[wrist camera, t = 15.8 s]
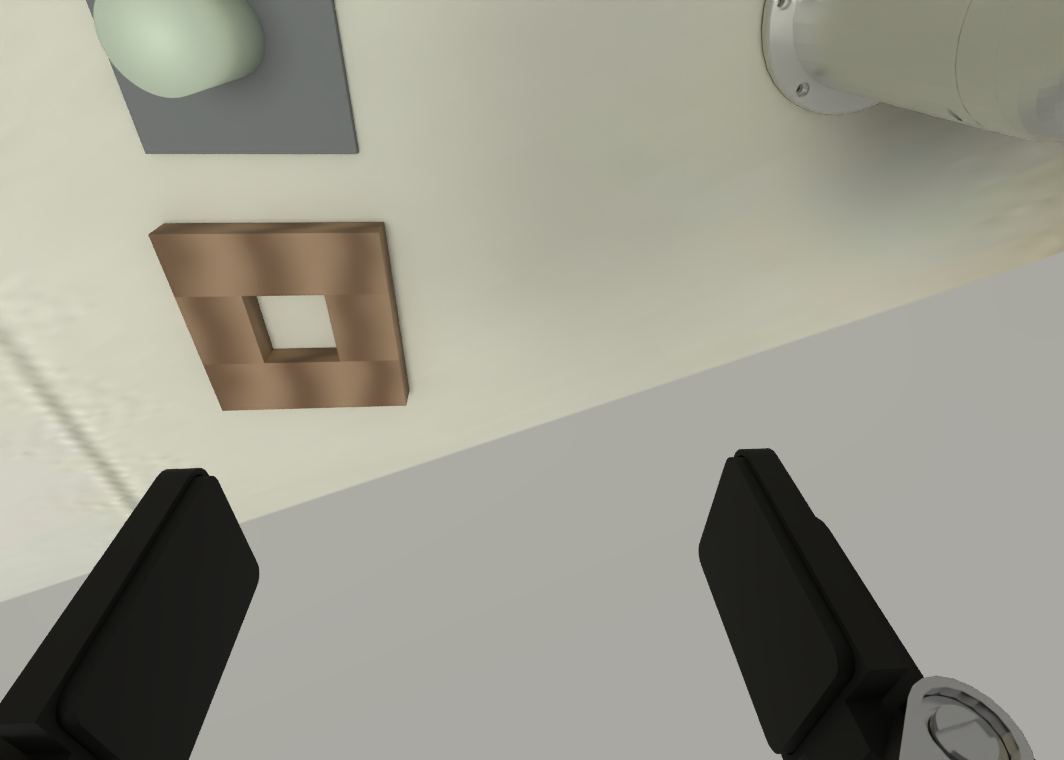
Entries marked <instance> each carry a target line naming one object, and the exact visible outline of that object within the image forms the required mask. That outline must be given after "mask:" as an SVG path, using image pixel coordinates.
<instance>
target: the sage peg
mask: <svg viewBox="0 0 1064 760" xmlns="http://www.w3.org/2000/svg"><path fill="white" fill-rule="evenodd" d="M93 16H94V25H95V29H96V33H97V36H98V39H99V41H100V43H101V46H102V48H103V50H104V51H105V53H106V55H107V56H108V58H109V59H110V61H111V62H112V63H113V65H114V66H115V67H116V68H117V69H118V70H119V71H120V72H121V73H122V74H123V75H124V76H125V77H126V78H127V79H128V80H129V81H131V82H132V83H133V84H135V85H136V86H138V87H139V88H141V89H143V90H145V91H147V92H149V93H151V94H154V95H157V96H161V97H166V98H180V97H184V96H188V95H191V94H194V93H197V92H200V91H203V90H206V89H209V88H212V87H215V86H218V85H221V84H224V83H227V82H230V81H233V80H237V79H240V78H243V77H245V76H248V75H250V74H251V73H253V72H254V71H255V70H256V69H257V68H258V66H259V65H260V63H261V61H262V58H263V55H264V49H265V40H264V33H263V29H262V26H261V23H260V21H259V19H258V17H257V15H256V13H255V11H254V10H253V8H252V7H251V5H250V4H249V3H248V2H247V1H246V0H95V3H94V12H93Z"/></svg>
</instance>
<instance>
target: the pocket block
mask: <svg viewBox="0 0 1064 760" xmlns="http://www.w3.org/2000/svg"><path fill="white" fill-rule="evenodd" d="M148 235H149V237H150V240H151V242H152V244H153V247H154V249H155V252H156V254H157V256H158V259H159V261H160V263H161V266H162V268H163V271H164V273H165V275H166V278H167V280H168V282H169V285H170V287H171V290H172V292H173V294H174V297H175V299H176V301H177V304H178V306H179V308H180V311H181V313H182V316H183V318H184V320H185V323H186V325H187V327H188V330H189V332H190V335H191V337H192V339H193V342H194V344H195V346H196V349H197V351H198V354H199V356H200V358H201V361H202V363H203V365H204V368H205V370H206V372H207V375H208V377H209V380H210V382H211V384H212V387H213V389H214V391H215V394H216V396H217V399H218V401H219V403H220V406H221V408H222V410H223V411H228V410H264V409H299V408H335V407H370V406H406V404H407V399H408V394H409V386H408V379H407V373H406V366H405V359H404V353H403V346H402V339H401V333H400V326H399V319H398V313H397V306H396V300H395V293H394V286H393V280H392V273H391V266H390V260H389V253H388V246H387V240H386V233H385V227H384V222H335V223H186V224H163V225H161V226H160V227H158V228H157V229H155V230H154V231H153V232H151V233H150V234H148ZM287 295H324V296H325V300H326V304H327V309H328V313H329V317H330V321H331V325H332V330H333V334H334V338H335V342H336V347H337V348H302V349H273V348H272V345H271V342H270V339H269V335H268V332H267V329H266V326H265V323H264V320H263V317H262V314H261V311H260V307H259V304H258V301H257V298H256V296H287Z"/></svg>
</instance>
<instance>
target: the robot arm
mask: <svg viewBox="0 0 1064 760" xmlns="http://www.w3.org/2000/svg"><path fill="white" fill-rule="evenodd" d="M777 1H778V0H766V3H765V7H764V15H763V25H762V40H763V52H764V56H765V61H766V65H767V69H768V71H769V73H770V75H771V77H772V79H773V81H774V83H775V85H776V86H777V87H778V89H779V90H780V91H781V92H782V93H783V95H784V96H785V97H786V98H788V99H789V100H790V101H792V102H793V103H795V104H796V105H797V106H800V107H802V108H805V109H807V110H809V111H813V112H817V113H821V114H825V115H843V114H848V113H853V112H858V111H861V110H864V109H866V108H869V107H871V106H874V105H876V104H878V103H880V102H883V103H887V104H890V105H894V106H898V107H902V108H905V109H909V110H913V111H917V112H920V113H924V114H928V115H932V116H935V117H939V118H943V119H946V120H950V121H954V122H958V123H961V124H965V125H969V126H973V127H976V128H980V129H984V130H988V131H991V132H995V133H1001V134H1004V135H1008V136H1012V137H1016V138H1020V139H1026V140H1032V141H1039V142H1064V0H782V1H781V4H780V5H779V6H777ZM799 85H800V89H799V90H798V91H797V88H798V86H799ZM796 91H797V92H796ZM699 558H700V563H701V566H702V568H703V571H704V574H705V576H706V579H707V582H708V585H709V587H710V590H711V592H712V595H713V598H714V601H715V603H716V606H717V609H718V611H719V614H720V617H721V619H722V622H723V625H724V627H725V630H726V632H727V635H728V638H729V641H730V643H731V646H732V649H733V651H734V654H735V656H736V659H737V662H738V665H739V667H740V670H741V673H742V675H743V678H744V681H745V684H746V686H747V689H748V691H749V694H750V697H751V699H752V702H753V705H754V708H755V710H756V713H757V716H758V718H759V721H760V724H761V726H762V729H763V732H764V734H765V737H766V739H767V742H768V744H769V746H770V747H771V749H772V750H773V751H774V752H775V753H776V754H781V755H782V758H783V760H1035V759H1034V756H1033V752H1032V750H1031V748H1030V746H1029V744H1028V742H1027V740H1026V738H1025V737H1024V734H1023V733H1022V731H1021V730H1020V729H1019V727H1018V726H1017V725H1016V724H1015V722H1014V721H1013V720H1012V719H1011V718H1010V716H1009V715H1008V714H1007V713H1006V712H1005V711H1004V710H1003V709H1002V708H1001V707H1000V706H998V705H997V704H996V703H995V702H994V701H993V700H992V699H991V698H989V697H988V696H986V695H985V694H983V693H981V692H980V691H978V690H977V689H975V688H974V687H972V686H970V685H967V684H965V683H963V682H960V681H958V680H955V679H953V678H947V677H940V676H932V677H926V678H924V677H923V675H922V674H921V672H920V670H919V669H918V667H917V666H916V665H915V663H914V661H913V660H912V658H911V656H910V655H909V653H908V652H907V650H906V649H905V647H904V645H903V644H902V643H901V641H900V639H899V638H898V636H897V635H896V633H895V631H894V630H893V628H892V627H891V625H890V624H889V622H888V620H887V619H886V617H885V616H884V614H883V613H882V611H881V609H880V608H879V607H878V605H877V603H876V602H875V600H874V599H873V597H872V595H871V594H870V592H869V591H868V589H867V588H866V586H865V584H864V583H863V581H862V580H861V578H860V577H859V575H858V573H857V572H856V570H855V569H854V567H853V566H852V564H851V563H850V561H849V559H848V558H847V556H846V555H845V553H844V552H843V550H842V548H841V547H840V545H839V544H838V542H837V541H836V539H835V538H834V536H833V534H832V533H831V531H830V530H829V528H828V527H827V526H826V525H825V524H824V522H823V521H821V520H820V519H818V518H817V517H815V515H814V514H813V512H812V510H811V509H810V507H809V506H808V504H807V502H806V501H805V499H804V498H803V496H802V494H801V493H800V491H799V490H798V488H797V486H796V485H795V483H794V482H793V480H792V479H791V477H790V475H789V474H788V472H787V471H786V469H785V467H784V466H783V464H782V463H781V461H780V459H779V458H778V456H777V455H776V453H775V452H774V451H773V450H771V449H769V448H766V449H739V450H738V451H737V452H736V453H735V455H734V457H729V458H728V459H727V460H726V463H725V466H724V469H723V472H722V475H721V478H720V481H719V485H718V488H717V491H716V494H715V497H714V500H713V503H712V506H711V509H710V512H709V516H708V519H707V522H706V525H705V529H704V531H703V534H702V537H701V540H700V544H699ZM258 580H259V566H258V564H257V562H256V559H255V557H254V555H253V553H252V551H251V549H250V547H249V545H248V542H247V540H246V538H245V536H244V534H243V532H242V530H241V528H240V526H239V524H238V521H237V519H236V517H235V515H234V513H233V511H232V509H231V507H230V505H229V502H228V500H227V498H226V496H225V494H224V492H223V490H222V488H221V486H220V484H219V481H218V480H217V478H216V477H214V476H209V475H208V473H207V472H206V470H204V469H202V468H190V469H166V470H164V471H162V472H161V473H160V474H159V475H158V476H157V478H156V479H155V481H154V482H153V483H152V485H151V486H150V488H149V489H148V491H147V492H146V494H145V495H144V496H143V498H142V499H141V501H140V502H139V504H138V505H137V507H136V508H135V509H134V511H133V512H132V514H131V515H130V517H129V518H128V520H127V521H126V522H125V524H124V525H123V527H122V528H121V530H120V531H119V533H118V534H117V535H116V537H115V538H114V540H113V541H112V543H111V544H110V546H109V547H108V548H107V550H106V551H105V553H104V554H103V556H102V557H101V559H100V560H99V561H98V563H97V564H96V566H95V567H94V568H93V570H92V571H91V573H90V574H89V576H88V577H87V579H86V580H85V581H84V583H83V584H82V586H81V587H80V589H79V590H78V592H77V593H76V594H75V596H74V597H73V599H72V600H71V602H70V603H69V605H68V606H67V608H66V609H65V610H64V612H63V613H62V615H61V616H60V618H59V619H58V620H57V622H56V623H55V625H54V626H53V628H52V629H51V631H50V632H49V633H48V635H47V636H46V638H45V639H44V641H43V642H42V644H41V645H40V647H39V648H38V649H37V651H36V652H35V654H34V655H33V657H32V658H31V659H30V661H29V662H28V664H27V665H26V667H25V668H24V670H23V671H22V672H21V674H20V676H19V677H18V678H17V680H16V681H15V683H14V684H13V686H12V687H11V688H10V690H9V691H8V693H7V694H6V696H5V697H4V699H3V700H2V701H1V703H0V760H189V757H190V755H191V752H192V750H193V747H194V745H195V742H196V739H197V737H198V735H199V732H200V729H201V727H202V724H203V722H204V719H205V717H206V714H207V711H208V709H209V707H210V704H211V701H212V699H213V696H214V694H215V691H216V689H217V686H218V684H219V681H220V679H221V676H222V674H223V671H224V669H225V666H226V663H227V661H228V658H229V656H230V653H231V651H232V648H233V646H234V643H235V641H236V638H237V636H238V633H239V630H240V628H241V625H242V623H243V620H244V618H245V615H246V613H247V610H248V608H249V605H250V603H251V600H252V597H253V595H254V592H255V590H256V587H257V584H258Z"/></svg>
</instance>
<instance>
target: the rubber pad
mask: <svg viewBox="0 0 1064 760" xmlns="http://www.w3.org/2000/svg"><path fill="white" fill-rule="evenodd" d="M86 1H87V4H88V7H89V9H90V12H91V14H92V17H93V19H94V16H93V12H94V3H95V0H86ZM246 1H247V2H248V3H249V4H250V5H251V7H252V8H253V10H254V11H255V13H256V15H257V17H258V19H259V21H260V23H261V26H262V29H263V33H264V40H265V49H264V55H263V58H262V61H261V63H260V65H259V66H258V68H257V69H256V70H255V71H254V72H253V73H251V74H250V75H248V76H245V77H243V78H240V79H237V80H233V81H230V82H227V83H224V84H221V85H218V86H215V87H212V88H209V89H206V90H203V91H200V92H197V93H194V94H191V95H188V96H184V97H180V98H166V97H161V96H157V95H154V94H151V93H149V92H147V91H145V90H143V89H141V88H139V87H138V86H136V85H135V84H133V83H132V82H131V81H129V80H128V79H127V78H126V77H125V76H124V75H123V74H122V73H121V72H120V71H119V70H118V69H117V68H116V67H115V66H114V65H113V63H112V62H111V61H110V59H109V61H110V63H111V66H112V68H113V71H114V73H115V76H116V79H117V81H118V84H119V86H120V89H121V91H122V94H123V97H124V99H125V102H126V104H127V107H128V109H129V112H130V115H131V117H132V120H133V122H134V125H135V127H136V130H137V133H138V135H139V138H140V140H141V143H142V145H143V148H144V151H145V153H146V154H357V153H358V152H359V150H358V144H357V138H356V132H355V126H354V120H353V114H352V108H351V102H350V96H349V90H348V84H347V78H346V72H345V66H344V60H343V54H342V48H341V42H340V36H339V30H338V24H337V18H336V12H335V6H334V0H246Z"/></svg>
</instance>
